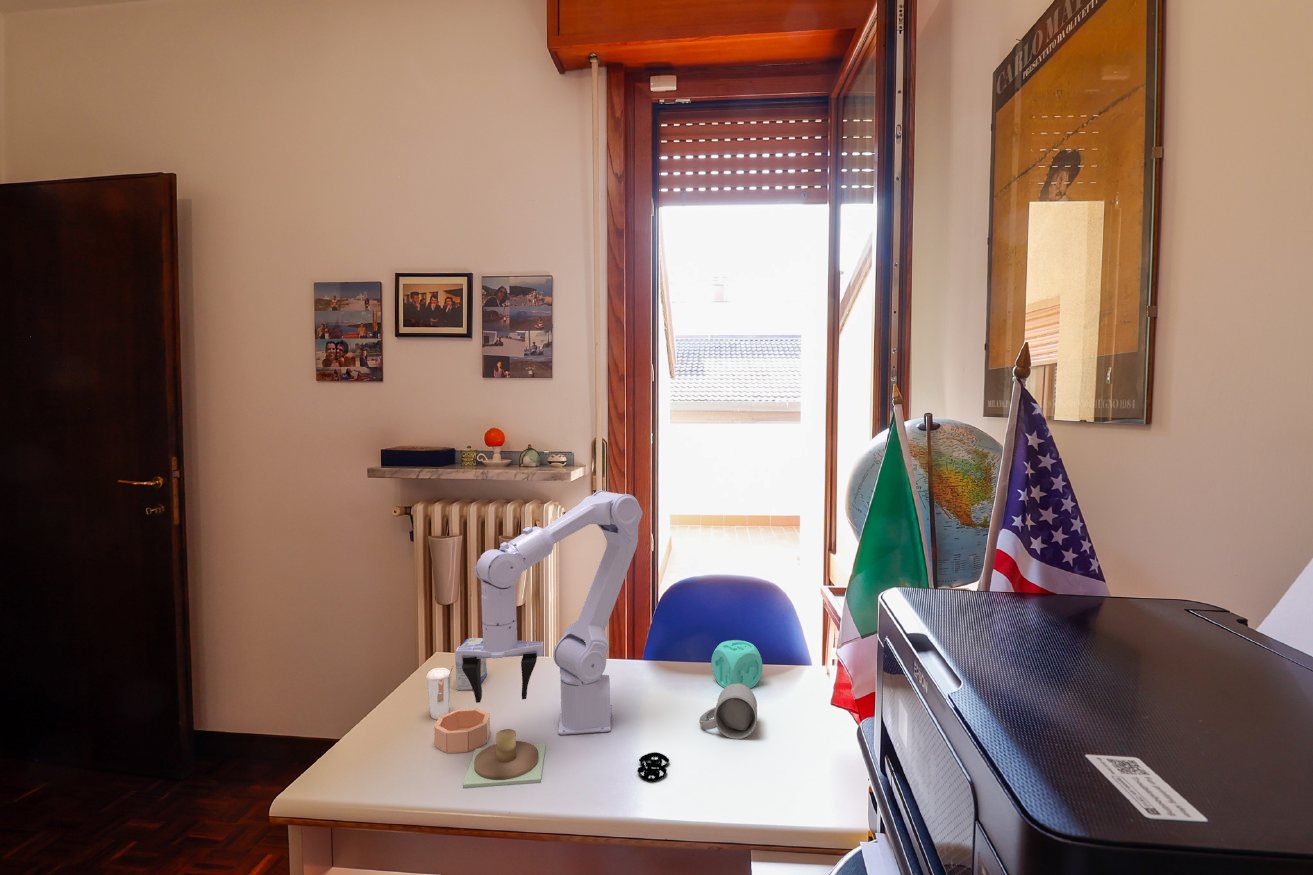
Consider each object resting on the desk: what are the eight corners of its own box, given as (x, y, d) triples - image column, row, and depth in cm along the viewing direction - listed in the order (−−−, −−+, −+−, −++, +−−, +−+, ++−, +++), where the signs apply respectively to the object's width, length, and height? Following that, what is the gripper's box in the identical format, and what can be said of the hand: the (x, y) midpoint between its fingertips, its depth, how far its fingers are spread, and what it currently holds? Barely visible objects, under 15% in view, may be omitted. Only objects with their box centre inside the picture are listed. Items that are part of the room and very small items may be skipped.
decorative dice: (711, 680, 139) (710, 644, 139) (741, 672, 143) (740, 637, 143) (732, 694, 132) (731, 656, 132) (763, 686, 136) (763, 648, 136)
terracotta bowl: (492, 725, 120) (491, 707, 120) (484, 750, 111) (483, 730, 111) (443, 728, 120) (442, 710, 119) (431, 754, 111) (430, 734, 110)
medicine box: (476, 690, 136) (475, 650, 136) (455, 691, 136) (454, 650, 136) (487, 675, 144) (486, 637, 144) (467, 675, 144) (466, 637, 144)
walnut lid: (538, 742, 113) (537, 715, 112) (538, 775, 102) (537, 746, 102) (477, 749, 111) (476, 722, 111) (471, 783, 101) (469, 753, 100)
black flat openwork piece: (634, 784, 101) (634, 777, 101) (640, 756, 109) (640, 750, 109) (666, 785, 101) (666, 778, 101) (670, 758, 109) (670, 751, 109)
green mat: (545, 746, 112) (545, 743, 112) (540, 782, 102) (540, 779, 102) (475, 751, 111) (475, 748, 111) (462, 787, 100) (462, 784, 100)
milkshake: (448, 722, 122) (446, 670, 122) (422, 720, 123) (421, 668, 123) (460, 711, 127) (458, 661, 126) (435, 709, 128) (434, 659, 127)
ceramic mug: (757, 718, 121) (756, 678, 121) (757, 740, 113) (756, 697, 113) (701, 716, 123) (700, 677, 123) (697, 738, 115) (696, 695, 115)
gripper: (451, 630, 105) (453, 712, 106) (541, 625, 107) (543, 705, 108) (459, 617, 112) (461, 693, 113) (543, 612, 114) (545, 687, 115)
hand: (501, 698), depth 111 cm, fingers open, 7 cm apart
